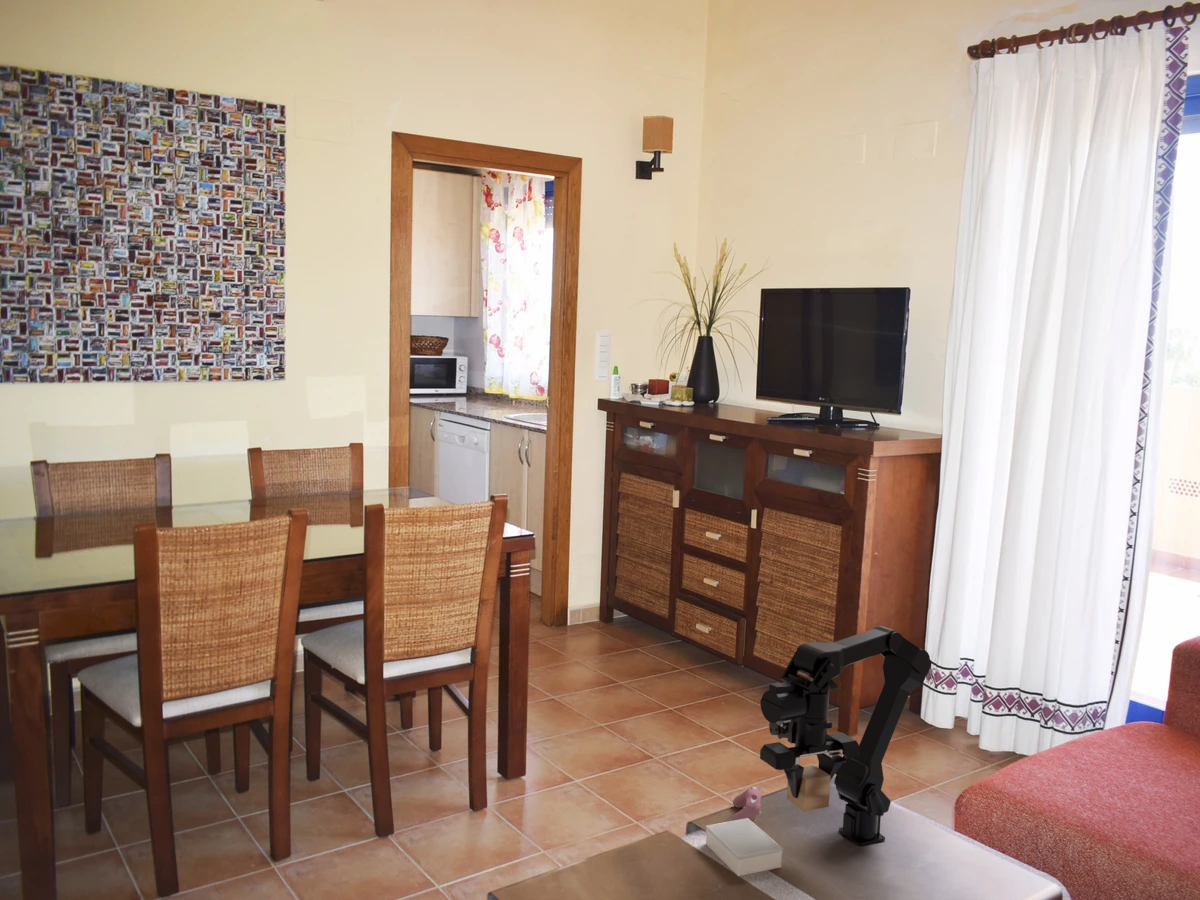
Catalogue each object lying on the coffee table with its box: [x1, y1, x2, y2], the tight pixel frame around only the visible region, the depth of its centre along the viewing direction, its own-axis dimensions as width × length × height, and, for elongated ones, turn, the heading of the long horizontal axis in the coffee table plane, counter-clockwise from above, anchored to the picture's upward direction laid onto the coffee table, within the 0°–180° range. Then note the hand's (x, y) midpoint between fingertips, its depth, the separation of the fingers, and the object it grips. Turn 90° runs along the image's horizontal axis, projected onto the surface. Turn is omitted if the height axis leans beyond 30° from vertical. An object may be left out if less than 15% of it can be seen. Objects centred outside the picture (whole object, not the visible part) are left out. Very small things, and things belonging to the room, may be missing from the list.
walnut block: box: [786, 763, 831, 812], centre depth 178 cm, size 6×6×6 cm
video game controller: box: [730, 785, 763, 821], centre depth 193 cm, size 10×5×7 cm, turn 169°
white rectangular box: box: [705, 818, 784, 877], centre depth 178 cm, size 9×12×4 cm
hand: (807, 794), depth 178 cm, fingers closed on walnut block, 5 cm apart
